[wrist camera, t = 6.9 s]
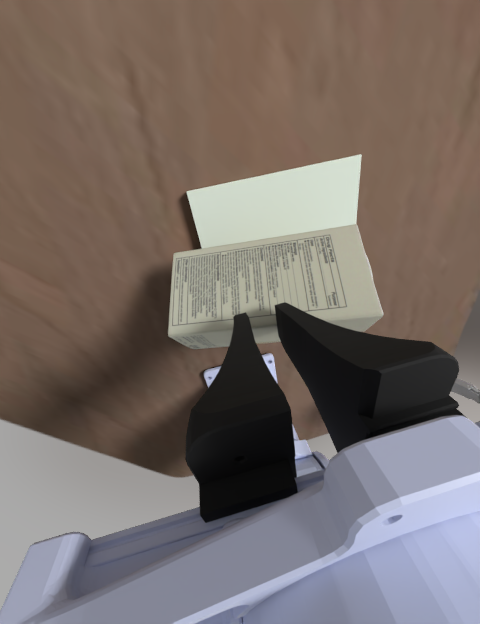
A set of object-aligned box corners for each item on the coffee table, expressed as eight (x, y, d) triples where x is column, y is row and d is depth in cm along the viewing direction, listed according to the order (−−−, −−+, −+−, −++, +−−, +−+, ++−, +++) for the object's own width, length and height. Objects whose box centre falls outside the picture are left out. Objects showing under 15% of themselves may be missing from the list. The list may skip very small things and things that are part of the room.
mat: (344, 309, 24) (348, 313, 24) (226, 340, 23) (227, 345, 23) (354, 155, 17) (361, 154, 17) (186, 191, 16) (186, 191, 16)
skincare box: (191, 350, 17) (360, 340, 15) (163, 337, 13) (388, 321, 11) (195, 277, 19) (343, 260, 18) (172, 246, 15) (360, 221, 14)
